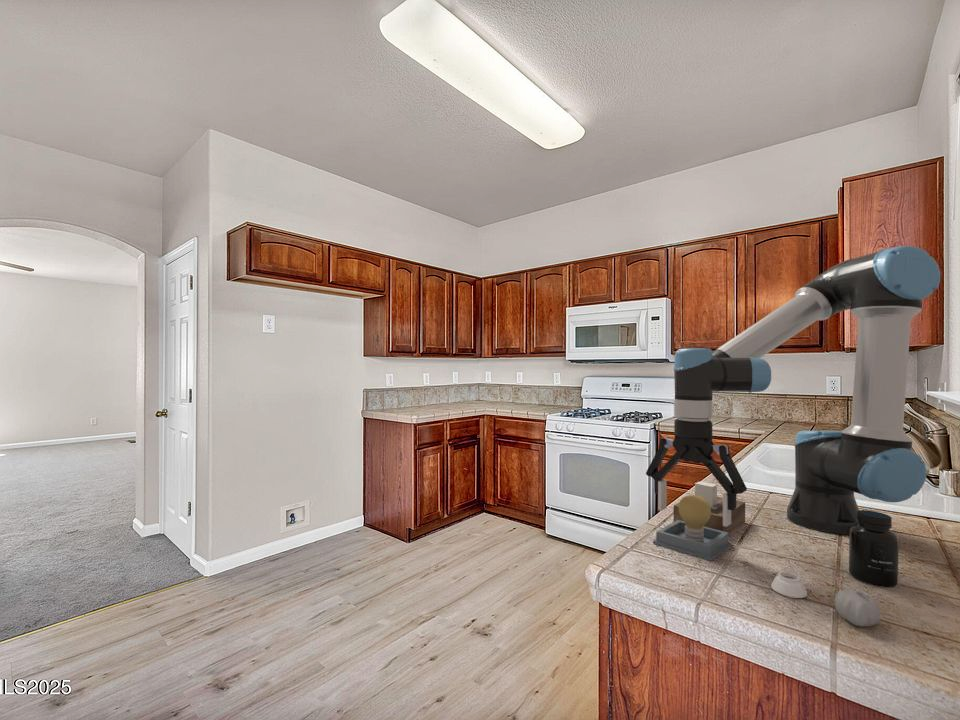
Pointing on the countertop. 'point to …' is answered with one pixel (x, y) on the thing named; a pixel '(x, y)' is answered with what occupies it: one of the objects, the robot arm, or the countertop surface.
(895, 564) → the supplement bottle
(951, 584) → the countertop surface
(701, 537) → the light bulb
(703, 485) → the toggle
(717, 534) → the tray
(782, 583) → the white conical ring
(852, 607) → the garlic
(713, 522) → the switch box
